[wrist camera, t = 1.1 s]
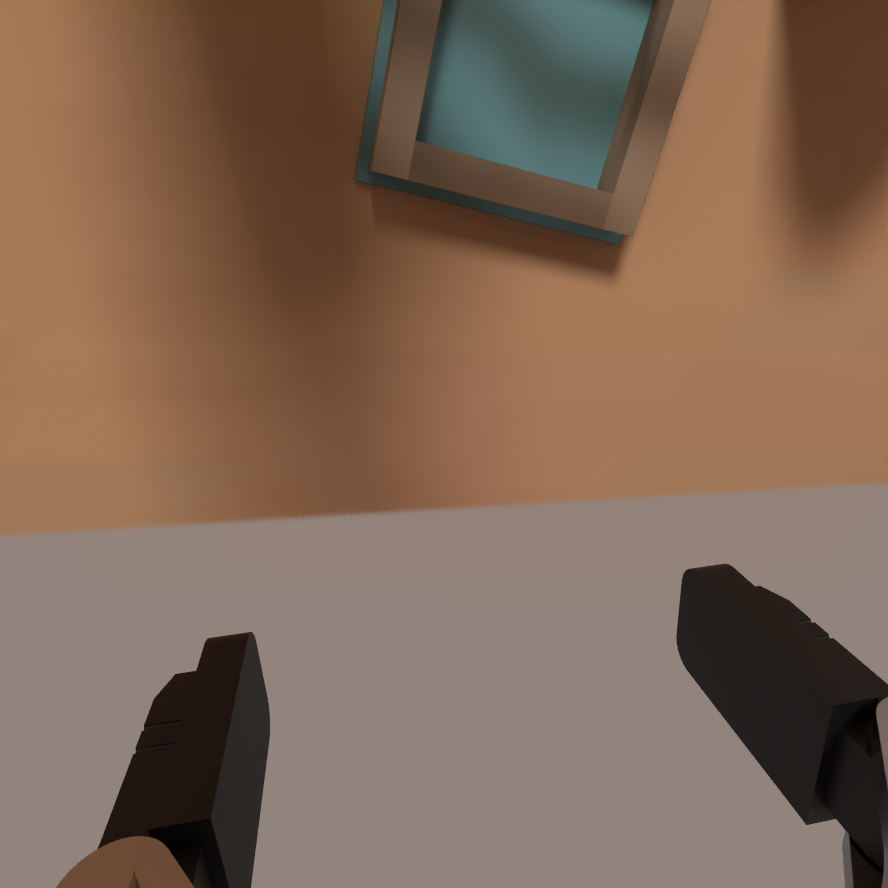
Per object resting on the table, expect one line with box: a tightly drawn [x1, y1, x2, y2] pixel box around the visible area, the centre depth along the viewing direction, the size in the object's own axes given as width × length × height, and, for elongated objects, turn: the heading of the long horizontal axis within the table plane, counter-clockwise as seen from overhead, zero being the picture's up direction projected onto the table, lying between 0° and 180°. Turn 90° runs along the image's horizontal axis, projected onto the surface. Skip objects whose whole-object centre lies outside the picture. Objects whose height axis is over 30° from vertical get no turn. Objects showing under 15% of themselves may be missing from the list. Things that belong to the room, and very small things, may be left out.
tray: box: [355, 0, 711, 245], centre depth 25 cm, size 13×13×2 cm
